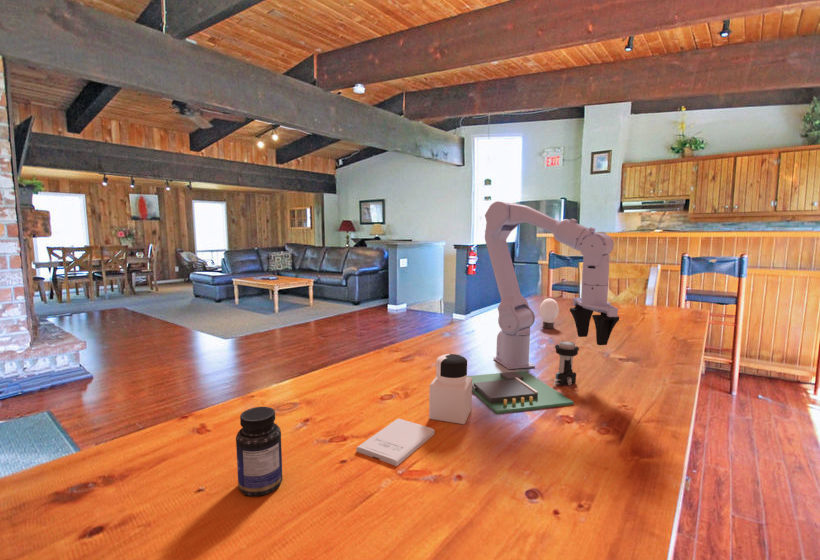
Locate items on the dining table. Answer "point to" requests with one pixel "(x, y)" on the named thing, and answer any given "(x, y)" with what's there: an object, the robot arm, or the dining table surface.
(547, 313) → the light bulb
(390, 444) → the external hard drive
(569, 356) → the push button
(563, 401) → the circuit board
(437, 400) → the medicine bottle
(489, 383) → the pad
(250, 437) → the pill bottle
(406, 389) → the dining table surface
